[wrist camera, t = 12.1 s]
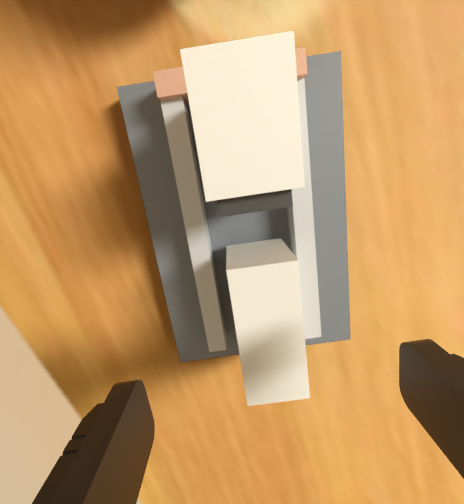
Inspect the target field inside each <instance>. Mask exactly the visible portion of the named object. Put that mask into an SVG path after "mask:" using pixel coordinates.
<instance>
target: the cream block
mask: <svg viewBox="0 0 464 504" xmlns="http://www.w3.org/2000/svg"><path fill="white" fill-rule="evenodd" d="M226 272H227V278H228V285H229V291H230V297H231V304H232V310H233V316H234V323H235V329H236V335H237V342H238V348H239V354H240V361H241V367H242V373H243V380H244V386H245V392H246V399H247V405H248V406H252V405H260V404H268V403H276V402H283V401H291V400H299V399H307V398H310V395H309V383H308V370H307V358H306V346H305V334H304V321H303V309H302V297H301V285H300V272H299V260H298V259H297V258H296V256H295V255H294V254H293V253H292V251H291V250H290V249H289V248H288V247H287V245H286V244H285V243H284V242H283V240H282V239H281V238H278V239H271V240H264V241H257V242H250V243H243V244H236V245H229V246H226Z"/></svg>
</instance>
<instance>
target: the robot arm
mask: <svg viewBox="0 0 464 504" xmlns="http://www.w3.org/2000/svg"><path fill="white" fill-rule="evenodd" d="M399 385H400V391H401V394H402V397H403V399H404V402H405V403H406V405H407V407H408V408H409V410H410V411H411V412H412V413H413V415H414V416H415V417H416V418H417V420H418V421H419V422H420V424H421V425H422V426H423V427H424V429H425V430H426V431H427V432H428V434H429V435H430V436H431V438H432V439H433V440H434V441H435V443H436V444H437V445H438V446H439V448H440V449H441V450H442V452H443V453H444V454H445V455H446V457H447V458H448V459H449V461H450V462H451V463H452V464H453V466H454V467H455V468H456V469H457V471H458V472H459V473H460V475H461V476H462V477H463V478H464V358H462V357H460V356H458V355H456V354H451V355H450V354H449V353H448V352H446V351H445V350H444V349H443V348H441V347H440V346H439V345H438V344H436V343H435V342H434V341H432V340H430V339H425V340H418V341H411V342H404V343H402V344H401V345H400V350H399ZM153 440H154V419H153V415H152V411H151V408H150V404H149V401H148V397H147V393H146V390H145V386H144V384H143V382H142V381H141V380H135V381H128V382H121V383H116V384H115V385H114V386H113V387H112V389H111V391H110V393H109V394H108V396H107V398H106V400H105V402H104V403H101V404H97V405H96V406H95V407H94V408H93V409H92V410H91V411H90V412H89V413H88V414H87V415H86V416H85V417H84V418H83V419H82V421H81V422H80V424H79V426H78V427H77V429H76V431H75V432H74V434H73V436H72V440H70V441H69V442H68V444H67V446H66V447H65V449H64V451H63V455H62V456H60V458H59V459H58V461H57V463H56V464H55V466H54V468H53V469H52V471H51V473H50V474H49V476H48V478H47V479H46V481H45V483H44V484H43V486H42V488H41V489H40V491H39V493H38V494H37V496H36V498H35V499H34V501H33V503H32V504H136V502H137V498H138V495H139V491H140V488H141V484H142V480H143V477H144V473H145V470H146V466H147V462H148V459H149V455H150V452H151V448H152V444H153Z"/></svg>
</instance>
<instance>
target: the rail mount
mask: <svg viewBox="0 0 464 504" xmlns="http://www.w3.org/2000/svg"><path fill="white" fill-rule="evenodd" d="M180 52H181V58H182V64H183V67H178V68H172V69H165V70H159V71H153V76H154V81H151V82H145V83H139V84H133V85H127V86H120V87H117V90H118V95H119V99H120V103H121V108H122V112H123V116H124V121H125V125H126V129H127V134H128V138H129V142H130V147H131V151H132V155H133V160H134V164H135V168H136V173H137V177H138V181H139V186H140V190H141V194H142V199H143V203H144V207H145V212H146V216H147V220H148V225H149V229H150V233H151V238H152V242H153V246H154V251H155V255H156V259H157V264H158V268H159V272H160V277H161V281H162V285H163V290H164V294H165V298H166V303H167V307H168V311H169V316H170V320H171V325H172V329H173V333H174V338H175V342H176V346H177V351H178V355H179V359H180V362H187V361H194V360H201V359H209V358H216V357H223V356H231V355H238V354H239V348H238V342H237V335H236V329H235V323H234V316H233V310H232V304H231V297H230V291H229V285H228V278H227V272H226V246H229V245H236V244H243V243H250V242H257V241H264V240H271V239H278V238H281V239H282V240H283V242H284V243H285V244H286V245H287V247H288V248H289V249H290V250H291V251H292V253H293V254H294V255H295V256H296V258H297V259H298V260H299V272H300V285H301V297H302V309H303V321H304V334H305V345H312V344H319V343H326V342H334V341H341V340H348V339H350V311H349V281H348V251H347V222H346V192H345V162H344V133H343V103H342V74H341V51H338V52H332V53H326V54H320V55H313V56H307V57H306V47H302V48H296V49H295V41H294V31H290V32H284V33H278V34H272V35H265V36H259V37H253V38H247V39H241V40H235V41H229V42H222V43H216V44H210V45H204V46H198V47H192V48H186V49H180Z"/></svg>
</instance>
